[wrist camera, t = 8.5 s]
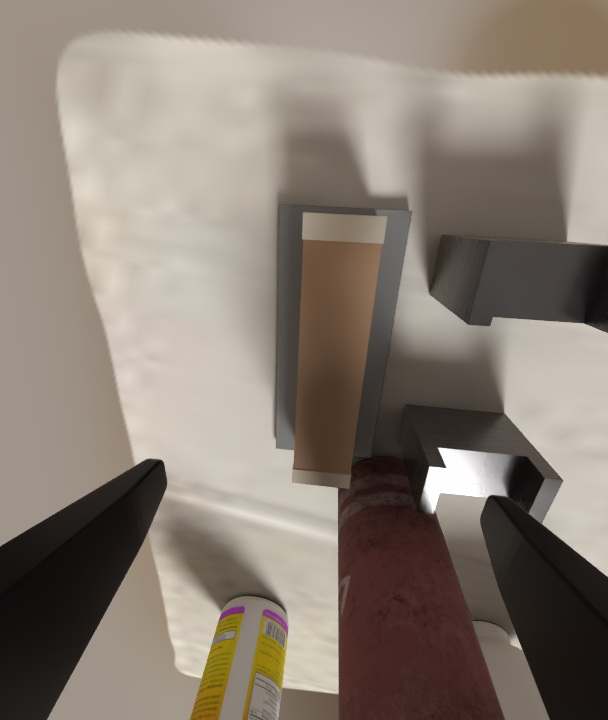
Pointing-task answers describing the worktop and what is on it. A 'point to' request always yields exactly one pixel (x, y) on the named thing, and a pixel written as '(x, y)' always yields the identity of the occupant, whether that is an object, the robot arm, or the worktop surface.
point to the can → (402, 609)
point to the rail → (333, 341)
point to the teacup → (510, 674)
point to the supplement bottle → (244, 663)
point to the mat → (291, 318)
